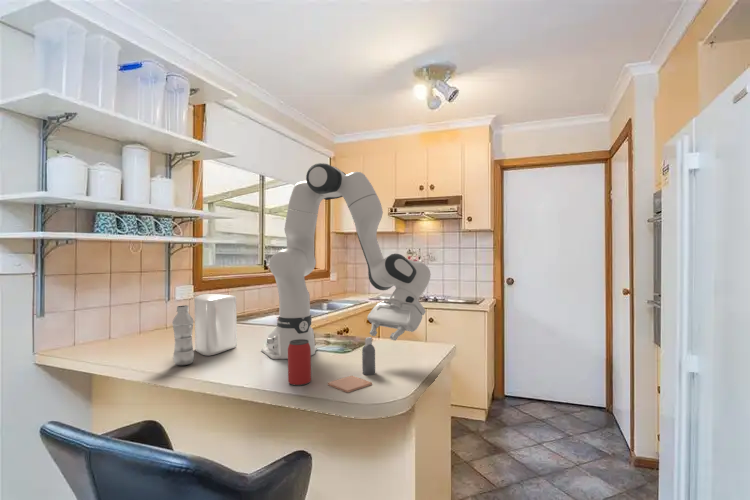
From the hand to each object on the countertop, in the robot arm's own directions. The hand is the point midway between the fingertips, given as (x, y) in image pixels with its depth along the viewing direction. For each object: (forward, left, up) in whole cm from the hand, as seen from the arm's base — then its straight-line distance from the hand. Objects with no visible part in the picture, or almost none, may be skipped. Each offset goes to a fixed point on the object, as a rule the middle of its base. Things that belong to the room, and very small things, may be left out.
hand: (381, 337), depth 129 cm
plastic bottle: (-52, -44, -10) cm, 69 cm away
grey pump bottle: (0, -6, -10) cm, 12 cm away
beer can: (-8, -26, -10) cm, 29 cm away
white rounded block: (-65, -30, -10) cm, 72 cm away
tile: (+4, -17, -10) cm, 20 cm away
